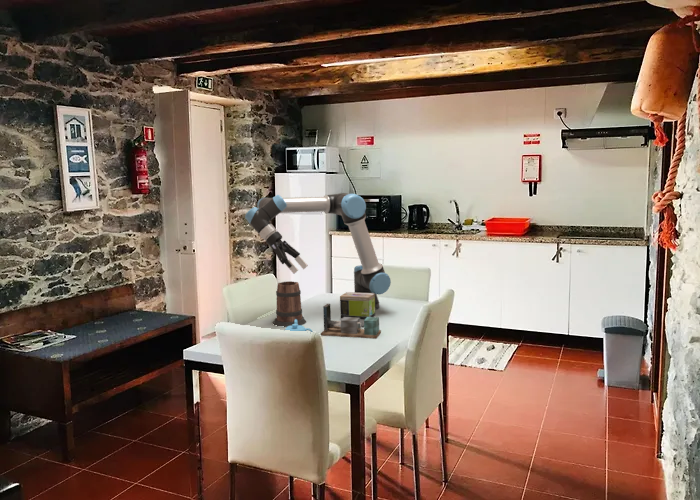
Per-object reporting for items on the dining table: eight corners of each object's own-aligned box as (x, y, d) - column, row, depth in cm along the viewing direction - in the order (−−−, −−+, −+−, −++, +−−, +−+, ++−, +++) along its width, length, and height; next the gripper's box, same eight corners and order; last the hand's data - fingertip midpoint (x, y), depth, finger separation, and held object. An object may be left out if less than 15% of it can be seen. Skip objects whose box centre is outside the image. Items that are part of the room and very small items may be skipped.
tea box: (375, 322, 291) (375, 292, 289) (369, 327, 281) (369, 297, 279) (346, 319, 296) (346, 291, 293) (340, 325, 286) (339, 295, 284)
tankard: (307, 326, 286) (305, 285, 282) (271, 328, 284) (270, 287, 281) (305, 313, 309) (304, 276, 306) (273, 315, 307) (271, 277, 304)
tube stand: (320, 335, 270) (320, 319, 269) (327, 329, 280) (326, 313, 279) (376, 338, 264) (376, 322, 263) (380, 332, 274) (380, 316, 272)
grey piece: (323, 330, 272) (323, 306, 270) (327, 326, 278) (327, 303, 276) (358, 331, 268) (358, 308, 266) (362, 328, 273) (361, 305, 272)
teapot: (271, 350, 251) (270, 324, 249) (296, 342, 260) (295, 317, 259) (293, 358, 240) (292, 331, 238) (319, 350, 249) (318, 324, 248)
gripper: (275, 238, 289) (304, 270, 287) (255, 244, 265) (286, 279, 263) (286, 228, 287) (314, 260, 285) (266, 233, 263) (297, 268, 261)
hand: (301, 269), depth 274 cm, fingers open, 13 cm apart
